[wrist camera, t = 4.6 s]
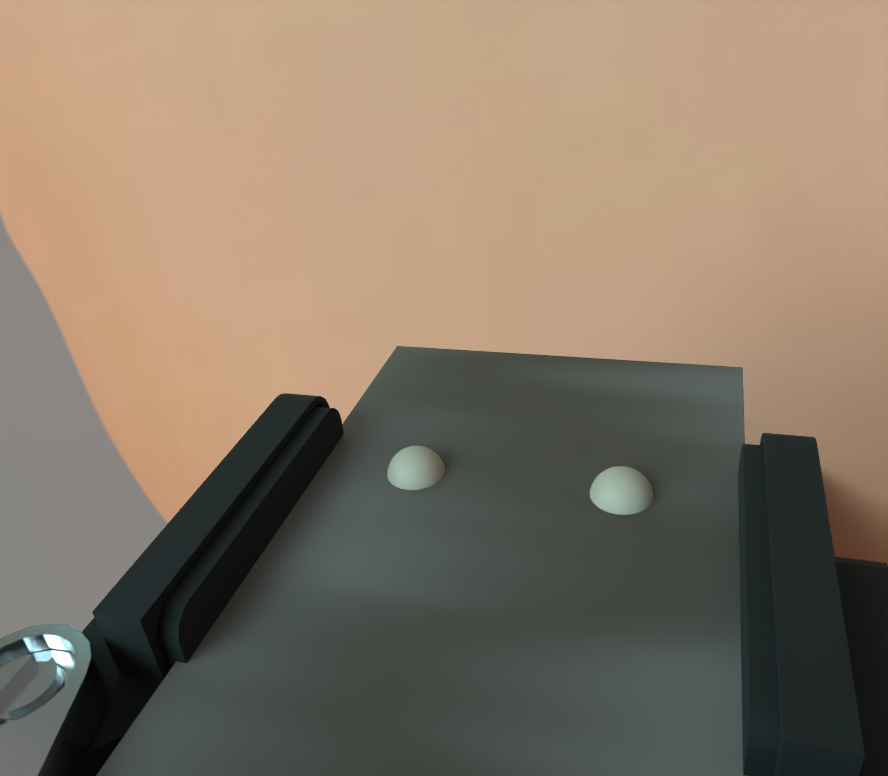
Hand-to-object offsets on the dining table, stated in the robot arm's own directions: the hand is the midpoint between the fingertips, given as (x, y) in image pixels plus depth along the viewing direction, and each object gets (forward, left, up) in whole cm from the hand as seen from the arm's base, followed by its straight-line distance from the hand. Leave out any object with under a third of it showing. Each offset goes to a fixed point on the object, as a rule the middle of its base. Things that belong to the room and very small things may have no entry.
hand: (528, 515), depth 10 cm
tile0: (0, 0, -3) cm, 3 cm away
